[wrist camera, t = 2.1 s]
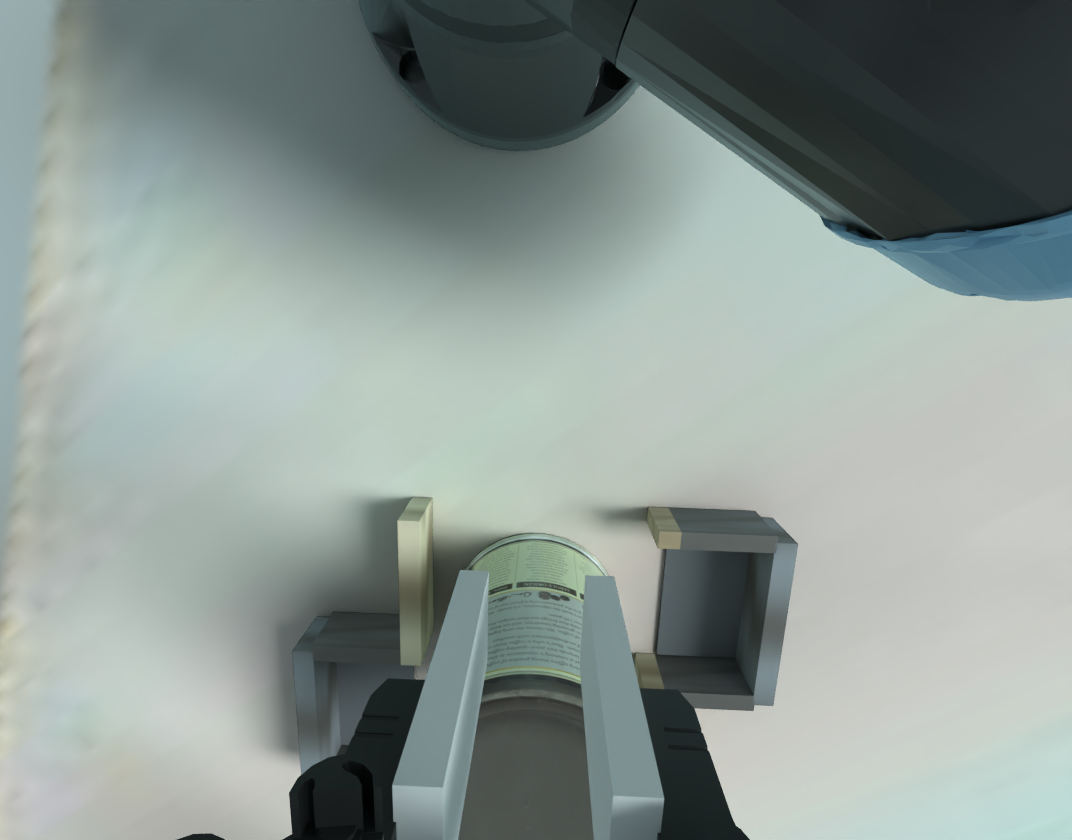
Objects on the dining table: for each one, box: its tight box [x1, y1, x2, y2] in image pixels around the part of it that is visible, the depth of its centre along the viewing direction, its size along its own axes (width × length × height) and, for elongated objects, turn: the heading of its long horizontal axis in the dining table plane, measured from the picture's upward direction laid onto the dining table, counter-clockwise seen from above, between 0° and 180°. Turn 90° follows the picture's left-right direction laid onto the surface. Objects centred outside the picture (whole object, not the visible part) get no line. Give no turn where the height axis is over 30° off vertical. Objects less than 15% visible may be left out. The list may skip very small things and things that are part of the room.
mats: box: [336, 549, 750, 745], centre depth 36 cm, size 17×26×1 cm, turn 88°
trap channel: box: [292, 497, 798, 775], centre depth 35 cm, size 24×28×4 cm
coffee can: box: [458, 533, 609, 840], centre depth 29 cm, size 10×10×14 cm
